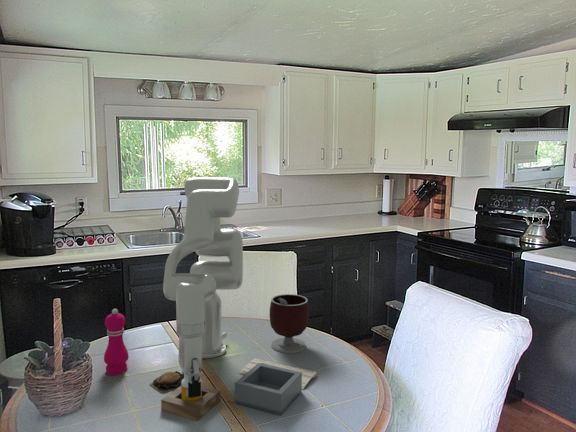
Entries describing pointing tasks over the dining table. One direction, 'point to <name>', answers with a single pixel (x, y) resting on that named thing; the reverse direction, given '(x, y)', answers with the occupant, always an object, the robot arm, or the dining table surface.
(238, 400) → the bin
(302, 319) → the mate gourd
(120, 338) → the pepper mill
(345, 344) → the dining table surface
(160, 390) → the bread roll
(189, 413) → the socket collar
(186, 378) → the supplement bottle
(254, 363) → the newspaper
